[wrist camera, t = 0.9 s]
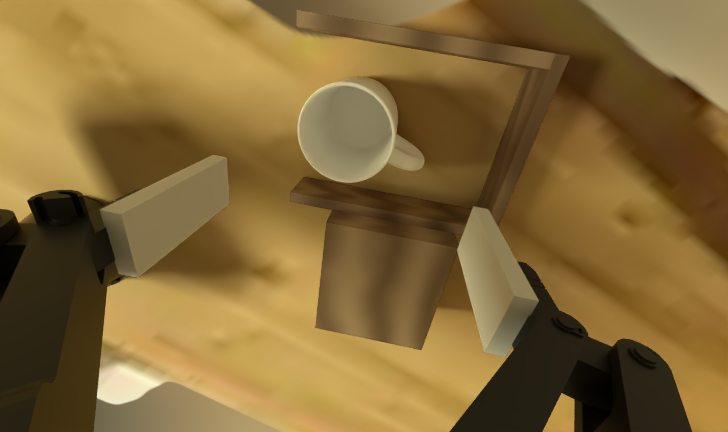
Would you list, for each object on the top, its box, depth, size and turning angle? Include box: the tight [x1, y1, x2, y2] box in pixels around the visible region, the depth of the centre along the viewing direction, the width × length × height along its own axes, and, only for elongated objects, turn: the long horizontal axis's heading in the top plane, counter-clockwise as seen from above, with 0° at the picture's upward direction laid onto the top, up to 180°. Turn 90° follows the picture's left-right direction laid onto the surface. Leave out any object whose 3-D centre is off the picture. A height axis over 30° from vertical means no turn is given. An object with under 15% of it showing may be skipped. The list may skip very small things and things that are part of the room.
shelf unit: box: [290, 10, 570, 350], centre depth 34 cm, size 23×34×8 cm
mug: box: [297, 77, 425, 183], centre depth 29 cm, size 12×8×10 cm
